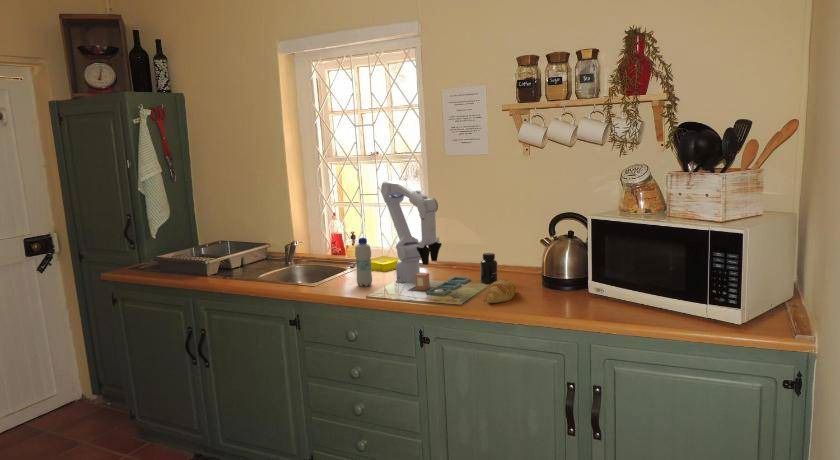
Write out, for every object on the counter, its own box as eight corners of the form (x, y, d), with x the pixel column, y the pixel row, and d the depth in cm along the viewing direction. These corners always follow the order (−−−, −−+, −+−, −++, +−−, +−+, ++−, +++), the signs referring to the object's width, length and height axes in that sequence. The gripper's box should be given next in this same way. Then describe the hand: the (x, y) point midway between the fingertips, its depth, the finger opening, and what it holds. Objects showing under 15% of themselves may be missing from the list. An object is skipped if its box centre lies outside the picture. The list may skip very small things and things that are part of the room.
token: (433, 294, 217) (433, 291, 217) (434, 291, 221) (434, 289, 220) (443, 293, 217) (443, 291, 217) (443, 291, 220) (443, 289, 220)
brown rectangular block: (415, 289, 225) (415, 274, 224) (420, 287, 229) (420, 272, 228) (424, 290, 223) (424, 275, 223) (429, 288, 227) (429, 273, 226)
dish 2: (437, 289, 226) (437, 285, 226) (444, 285, 232) (444, 281, 232) (454, 290, 223) (454, 287, 223) (461, 286, 229) (461, 283, 229)
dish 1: (426, 295, 217) (426, 291, 217) (434, 291, 224) (434, 287, 223) (443, 296, 214) (443, 293, 214) (451, 292, 220) (451, 288, 220)
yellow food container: (406, 267, 273) (406, 257, 273) (383, 273, 262) (383, 262, 262) (384, 264, 283) (384, 254, 283) (361, 269, 273) (361, 259, 272)
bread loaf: (496, 315, 200) (506, 297, 197) (473, 300, 203) (482, 281, 200) (518, 300, 218) (527, 282, 215) (496, 285, 221) (505, 268, 218)
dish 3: (447, 283, 235) (447, 280, 235) (454, 279, 241) (454, 276, 241) (463, 285, 232) (463, 281, 231) (470, 281, 238) (470, 277, 238)
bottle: (375, 284, 239) (373, 236, 236) (367, 288, 233) (365, 239, 230) (361, 283, 241) (359, 236, 239) (353, 286, 235) (350, 238, 233)
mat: (406, 291, 224) (406, 290, 224) (417, 286, 232) (417, 285, 232) (427, 293, 220) (427, 292, 220) (437, 287, 228) (437, 287, 228)
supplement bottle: (497, 284, 230) (496, 255, 228) (479, 284, 231) (479, 255, 229) (498, 281, 236) (497, 252, 235) (481, 280, 238) (480, 252, 236)
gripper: (429, 231, 219) (430, 266, 221) (445, 226, 232) (446, 259, 234) (413, 231, 222) (414, 265, 224) (430, 226, 235) (431, 259, 237)
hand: (429, 262), depth 229 cm, fingers open, 7 cm apart
